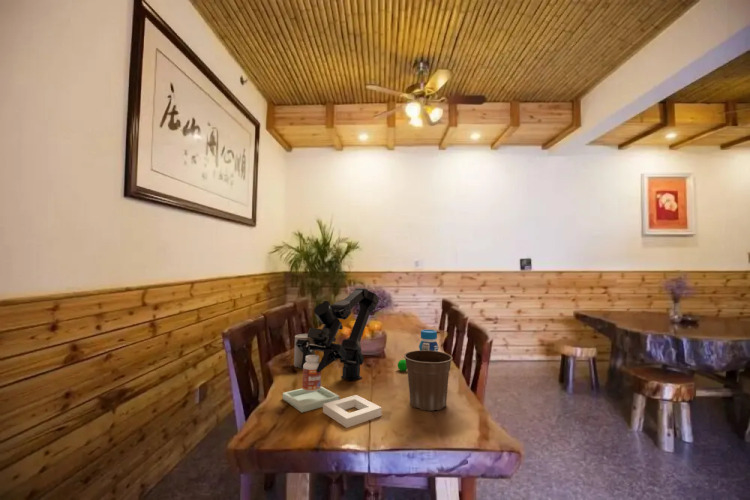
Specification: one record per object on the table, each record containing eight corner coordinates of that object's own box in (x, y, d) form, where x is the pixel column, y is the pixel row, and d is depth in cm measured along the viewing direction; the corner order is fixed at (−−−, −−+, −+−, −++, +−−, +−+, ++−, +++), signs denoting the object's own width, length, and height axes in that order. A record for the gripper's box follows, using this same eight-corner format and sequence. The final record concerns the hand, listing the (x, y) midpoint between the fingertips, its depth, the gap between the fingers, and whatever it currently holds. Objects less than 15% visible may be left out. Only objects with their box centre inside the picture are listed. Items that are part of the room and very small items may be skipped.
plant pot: (414, 416, 102) (414, 363, 103) (396, 397, 117) (397, 351, 118) (461, 411, 106) (461, 360, 107) (438, 393, 122) (438, 349, 123)
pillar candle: (319, 364, 155) (320, 332, 156) (304, 369, 147) (305, 335, 148) (304, 361, 160) (305, 330, 162) (289, 366, 152) (290, 333, 153)
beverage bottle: (414, 377, 140) (415, 329, 141) (432, 375, 143) (432, 328, 144) (424, 383, 132) (425, 333, 133) (442, 381, 135) (443, 332, 136)
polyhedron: (396, 369, 151) (397, 358, 152) (407, 369, 152) (407, 358, 152) (398, 372, 146) (398, 361, 147) (409, 372, 147) (409, 361, 147)
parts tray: (318, 390, 122) (318, 384, 122) (339, 402, 112) (339, 396, 112) (282, 398, 113) (282, 392, 114) (301, 412, 103) (301, 406, 103)
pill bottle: (308, 394, 109) (309, 359, 109) (298, 388, 113) (299, 355, 114) (324, 389, 113) (325, 356, 113) (314, 384, 117) (315, 353, 118)
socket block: (356, 402, 112) (356, 394, 112) (381, 415, 102) (381, 407, 102) (322, 412, 103) (323, 403, 104) (346, 427, 93) (346, 418, 94)
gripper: (299, 316, 122) (277, 353, 111) (342, 320, 114) (322, 361, 103) (312, 334, 129) (292, 370, 118) (353, 339, 120) (336, 379, 110)
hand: (309, 370), depth 112 cm, fingers closed on pill bottle, 6 cm apart
